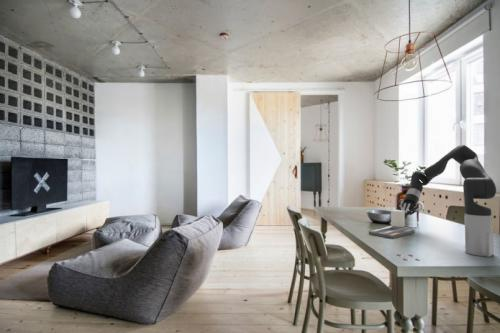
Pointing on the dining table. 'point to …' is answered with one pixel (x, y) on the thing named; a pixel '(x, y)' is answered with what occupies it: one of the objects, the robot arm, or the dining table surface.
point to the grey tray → (391, 232)
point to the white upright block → (397, 219)
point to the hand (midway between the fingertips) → (402, 218)
